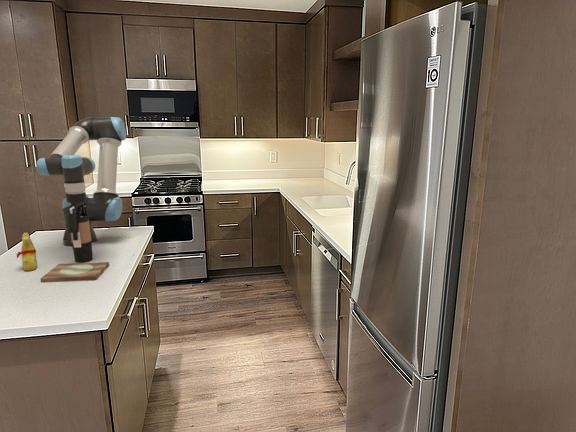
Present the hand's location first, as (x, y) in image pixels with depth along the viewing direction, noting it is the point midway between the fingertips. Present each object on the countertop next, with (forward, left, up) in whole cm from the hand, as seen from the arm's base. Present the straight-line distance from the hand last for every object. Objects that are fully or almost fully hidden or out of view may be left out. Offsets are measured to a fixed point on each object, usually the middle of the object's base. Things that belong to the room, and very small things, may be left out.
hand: (82, 243), depth 176 cm
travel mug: (0, 0, -8) cm, 8 cm away
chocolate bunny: (+7, -20, -8) cm, 22 cm away
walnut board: (+16, +3, -7) cm, 18 cm away
